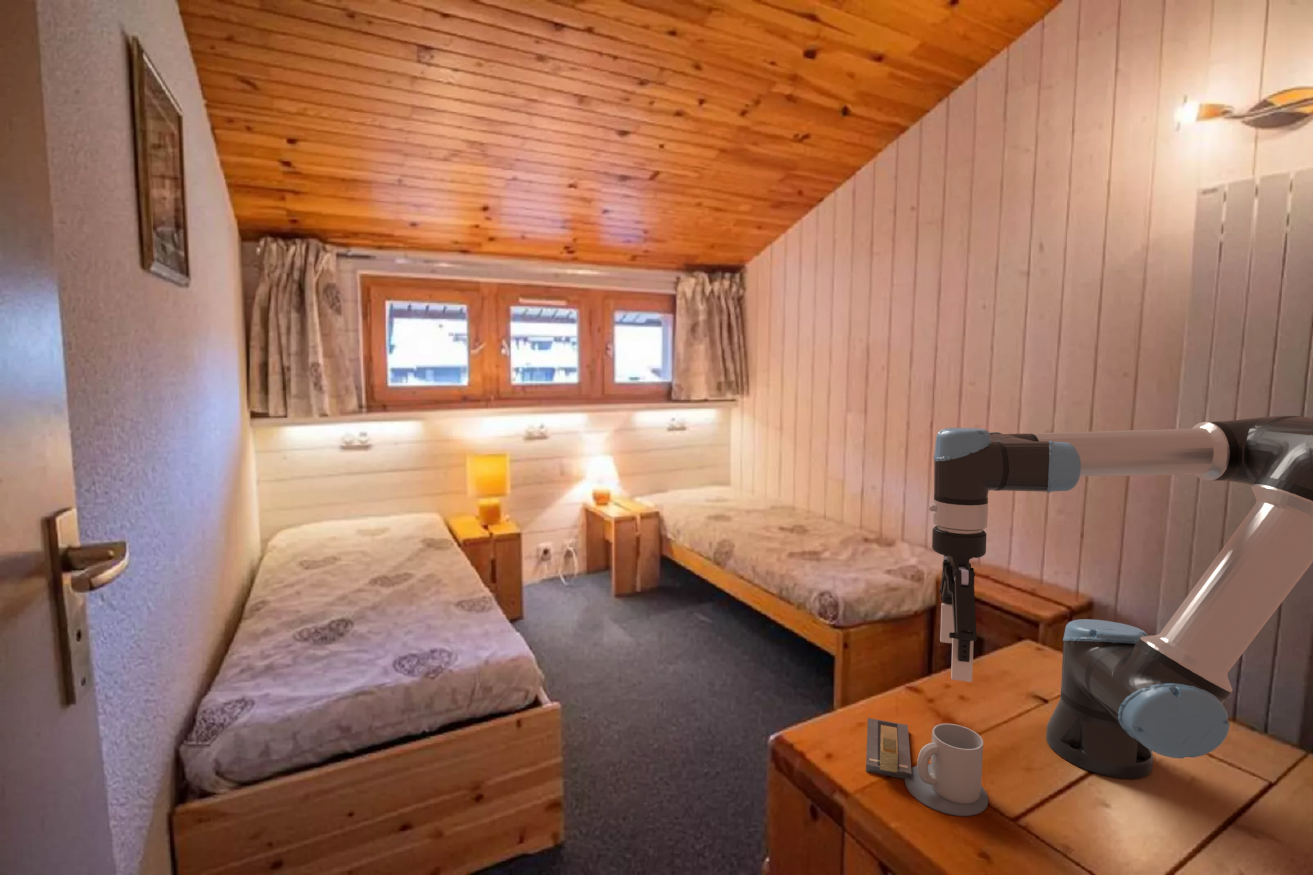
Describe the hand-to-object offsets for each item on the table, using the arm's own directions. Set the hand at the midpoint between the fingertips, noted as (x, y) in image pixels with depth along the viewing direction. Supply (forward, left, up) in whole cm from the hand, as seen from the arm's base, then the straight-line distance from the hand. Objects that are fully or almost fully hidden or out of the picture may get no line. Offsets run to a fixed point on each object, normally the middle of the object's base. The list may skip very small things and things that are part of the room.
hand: (955, 660), depth 97 cm
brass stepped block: (+9, -2, -19) cm, 21 cm away
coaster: (+1, +2, -21) cm, 21 cm away
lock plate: (+9, -6, -21) cm, 24 cm away
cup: (+1, +2, -21) cm, 21 cm away
